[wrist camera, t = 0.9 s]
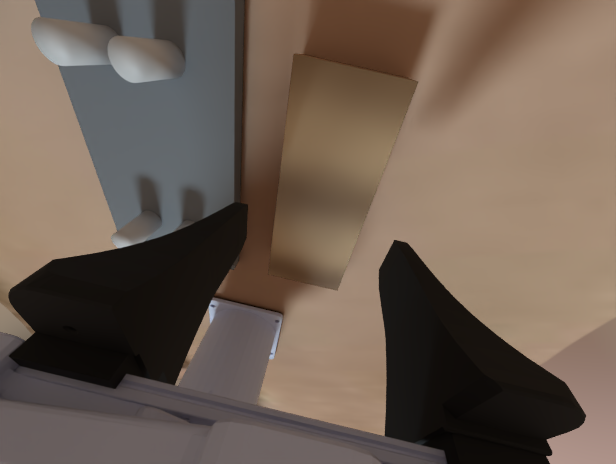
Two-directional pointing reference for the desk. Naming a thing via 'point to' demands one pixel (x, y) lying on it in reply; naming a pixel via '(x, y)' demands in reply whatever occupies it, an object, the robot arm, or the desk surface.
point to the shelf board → (332, 164)
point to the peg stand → (153, 103)
